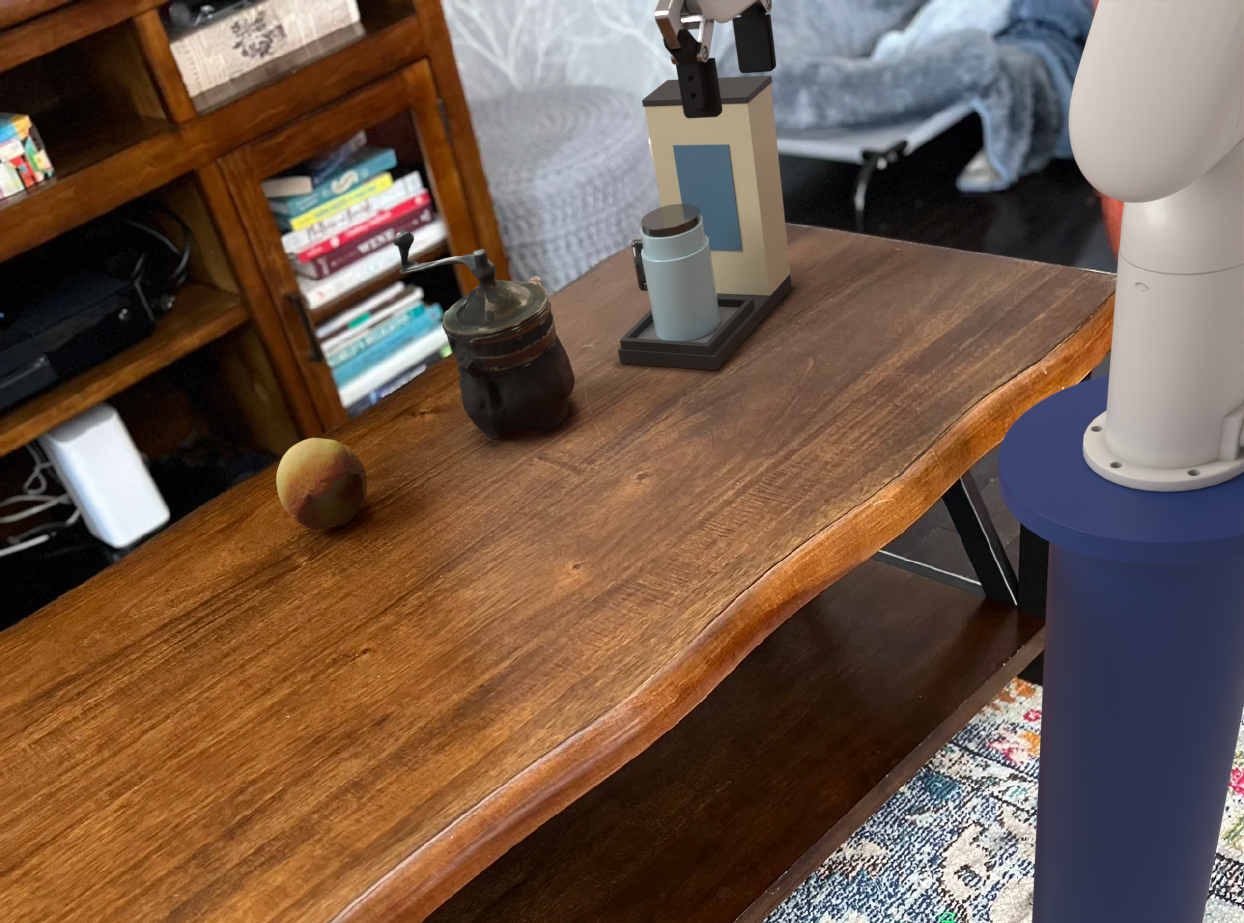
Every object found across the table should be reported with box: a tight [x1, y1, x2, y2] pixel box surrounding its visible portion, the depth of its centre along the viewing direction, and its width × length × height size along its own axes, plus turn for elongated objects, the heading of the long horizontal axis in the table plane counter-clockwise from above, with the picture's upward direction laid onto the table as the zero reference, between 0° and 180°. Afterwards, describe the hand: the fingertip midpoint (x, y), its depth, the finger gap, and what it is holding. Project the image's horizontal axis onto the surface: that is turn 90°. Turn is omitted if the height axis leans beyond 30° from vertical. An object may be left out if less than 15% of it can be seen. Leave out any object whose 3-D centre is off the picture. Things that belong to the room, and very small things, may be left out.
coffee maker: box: [617, 75, 793, 371], centre depth 124 cm, size 18×11×20 cm, turn 150°
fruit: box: [275, 437, 368, 532], centre depth 115 cm, size 8×8×8 cm
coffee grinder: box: [392, 229, 576, 440], centre depth 119 cm, size 13×15×18 cm
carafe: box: [630, 204, 721, 341], centre depth 125 cm, size 7×8×11 cm
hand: (731, 93), depth 104 cm, fingers open, 9 cm apart
